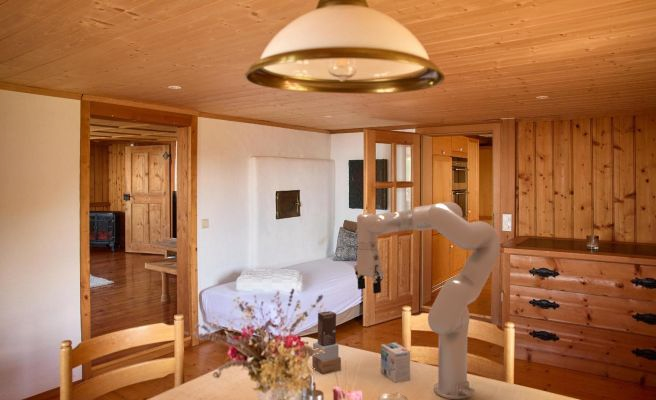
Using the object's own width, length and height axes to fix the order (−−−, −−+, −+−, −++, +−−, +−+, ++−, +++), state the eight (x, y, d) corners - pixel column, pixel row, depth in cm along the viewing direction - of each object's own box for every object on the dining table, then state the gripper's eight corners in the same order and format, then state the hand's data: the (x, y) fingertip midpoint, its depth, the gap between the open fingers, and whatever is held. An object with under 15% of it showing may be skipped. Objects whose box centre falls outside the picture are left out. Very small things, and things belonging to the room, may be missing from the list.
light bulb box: (380, 372, 184) (380, 344, 184) (395, 369, 187) (395, 341, 187) (394, 383, 175) (394, 353, 174) (410, 379, 177) (410, 350, 177)
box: (323, 346, 184) (322, 315, 184) (317, 343, 188) (317, 312, 188) (336, 344, 187) (336, 313, 187) (330, 340, 191) (330, 310, 191)
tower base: (340, 370, 187) (340, 357, 186) (323, 375, 182) (323, 362, 182) (329, 363, 193) (329, 351, 193) (312, 368, 189) (312, 355, 189)
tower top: (338, 357, 187) (338, 344, 187) (323, 361, 183) (323, 348, 183) (328, 352, 193) (328, 339, 192) (313, 355, 189) (313, 343, 188)
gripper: (390, 247, 180) (391, 293, 181) (362, 243, 195) (363, 286, 195) (374, 249, 176) (375, 296, 177) (346, 245, 191) (348, 288, 191)
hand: (369, 290), depth 186 cm, fingers open, 9 cm apart
